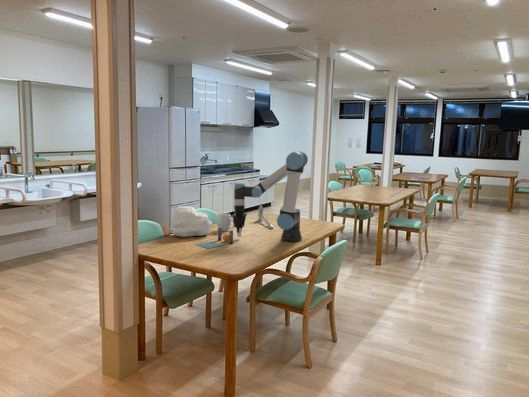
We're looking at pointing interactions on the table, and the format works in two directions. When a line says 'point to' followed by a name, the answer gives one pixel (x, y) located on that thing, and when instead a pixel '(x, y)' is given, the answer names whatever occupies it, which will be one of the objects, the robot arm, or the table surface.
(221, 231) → the post
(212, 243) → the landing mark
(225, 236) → the ball
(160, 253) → the table surface
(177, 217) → the sculpture
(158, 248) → the table surface
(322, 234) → the table surface
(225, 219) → the mug
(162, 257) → the table surface
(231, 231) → the post
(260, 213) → the hammer
